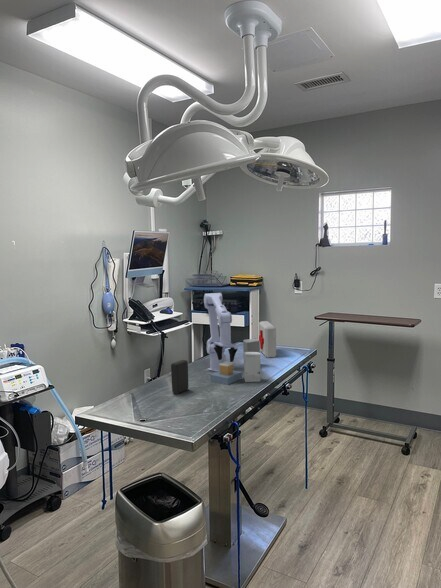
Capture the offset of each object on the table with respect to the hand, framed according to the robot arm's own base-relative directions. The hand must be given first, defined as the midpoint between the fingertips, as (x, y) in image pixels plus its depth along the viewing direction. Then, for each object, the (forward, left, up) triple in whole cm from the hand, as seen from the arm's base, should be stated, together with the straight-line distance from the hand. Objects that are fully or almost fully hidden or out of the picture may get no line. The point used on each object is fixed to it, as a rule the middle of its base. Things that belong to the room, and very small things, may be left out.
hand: (225, 360), depth 230 cm
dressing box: (0, 0, -11) cm, 11 cm away
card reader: (+27, -8, -11) cm, 30 cm away
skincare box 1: (-29, -2, -11) cm, 31 cm away
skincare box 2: (-6, +12, -11) cm, 17 cm away
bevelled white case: (-58, -9, -11) cm, 60 cm away
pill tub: (0, 0, -7) cm, 7 cm away
